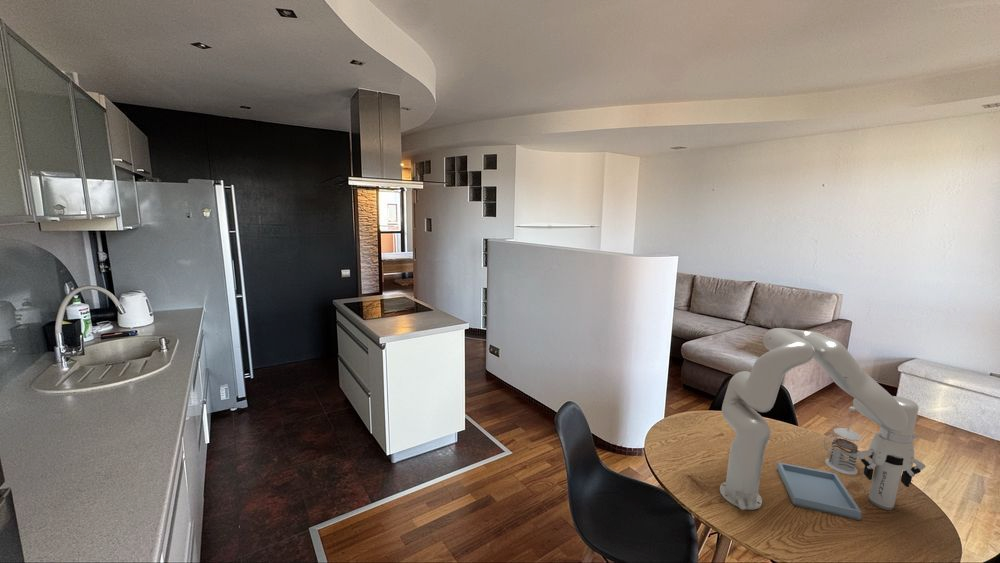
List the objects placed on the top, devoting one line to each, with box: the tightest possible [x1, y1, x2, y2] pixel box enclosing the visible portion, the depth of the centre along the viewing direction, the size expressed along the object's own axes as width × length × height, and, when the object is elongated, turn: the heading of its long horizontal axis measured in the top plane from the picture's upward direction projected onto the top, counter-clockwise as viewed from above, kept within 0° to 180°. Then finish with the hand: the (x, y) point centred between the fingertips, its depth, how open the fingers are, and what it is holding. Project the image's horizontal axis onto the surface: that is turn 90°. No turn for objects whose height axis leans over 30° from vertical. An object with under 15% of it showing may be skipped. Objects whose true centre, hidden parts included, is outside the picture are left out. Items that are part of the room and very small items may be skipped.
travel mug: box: [868, 455, 904, 511], centre depth 134 cm, size 6×7×20 cm
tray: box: [776, 461, 862, 521], centre depth 140 cm, size 20×18×3 cm
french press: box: [823, 406, 862, 476], centre depth 152 cm, size 10×12×25 cm
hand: (886, 480), depth 134 cm, fingers open, 9 cm apart
